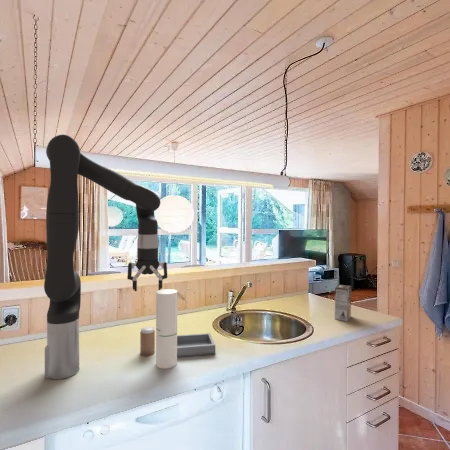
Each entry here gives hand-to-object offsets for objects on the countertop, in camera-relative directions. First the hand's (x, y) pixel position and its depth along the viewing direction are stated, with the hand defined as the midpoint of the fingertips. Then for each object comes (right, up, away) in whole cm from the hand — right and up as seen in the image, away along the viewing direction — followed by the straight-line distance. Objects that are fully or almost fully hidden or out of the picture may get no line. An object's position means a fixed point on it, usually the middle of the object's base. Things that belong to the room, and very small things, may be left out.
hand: (147, 290), depth 115 cm
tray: (+16, -23, +4) cm, 29 cm away
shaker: (0, -23, +1) cm, 23 cm away
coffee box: (+89, -23, +44) cm, 102 cm away
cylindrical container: (+8, -24, -8) cm, 26 cm away
